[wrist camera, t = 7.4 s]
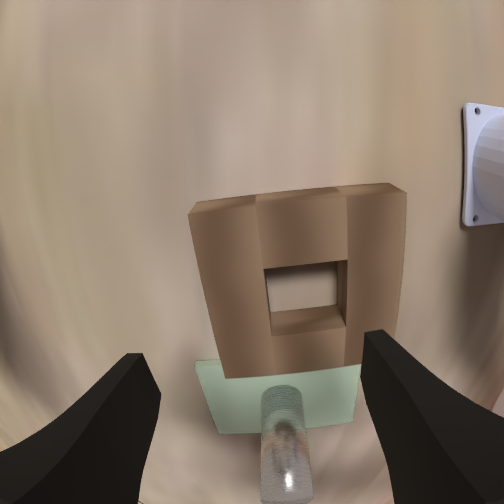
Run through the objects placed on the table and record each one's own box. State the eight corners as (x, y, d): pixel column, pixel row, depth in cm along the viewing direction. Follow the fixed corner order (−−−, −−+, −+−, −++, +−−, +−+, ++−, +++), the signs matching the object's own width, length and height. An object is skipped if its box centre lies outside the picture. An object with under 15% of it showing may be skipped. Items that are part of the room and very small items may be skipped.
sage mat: (360, 344, 21) (362, 349, 21) (350, 416, 25) (352, 421, 24) (195, 360, 22) (194, 366, 22) (219, 429, 26) (218, 434, 25)
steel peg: (296, 380, 22) (308, 487, 14) (305, 405, 23) (317, 502, 15) (255, 389, 22) (253, 494, 14) (267, 413, 24) (268, 509, 15)
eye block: (388, 182, 17) (406, 192, 14) (379, 336, 21) (390, 358, 19) (196, 201, 18) (187, 215, 15) (228, 354, 22) (225, 378, 20)
